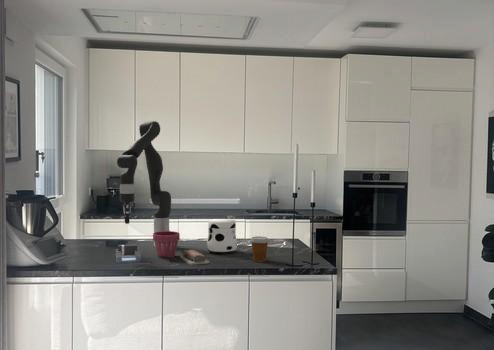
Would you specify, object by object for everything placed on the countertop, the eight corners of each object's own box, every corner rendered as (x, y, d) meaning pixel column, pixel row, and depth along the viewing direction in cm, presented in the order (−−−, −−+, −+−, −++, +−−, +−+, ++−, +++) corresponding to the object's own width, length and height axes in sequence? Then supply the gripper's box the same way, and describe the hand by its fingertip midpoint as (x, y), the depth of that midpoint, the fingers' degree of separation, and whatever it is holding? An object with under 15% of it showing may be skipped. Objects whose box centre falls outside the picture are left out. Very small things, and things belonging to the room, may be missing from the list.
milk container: (243, 252, 269) (243, 220, 268) (221, 256, 256) (221, 223, 255) (222, 248, 280) (222, 217, 280) (200, 252, 268) (200, 220, 267)
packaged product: (179, 249, 251) (197, 248, 255) (179, 259, 251) (197, 257, 256) (191, 256, 235) (209, 254, 239) (191, 266, 235) (209, 264, 240)
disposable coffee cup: (257, 263, 241) (258, 239, 240) (246, 259, 248) (247, 237, 248) (272, 261, 246) (272, 238, 246) (261, 257, 254) (261, 235, 253)
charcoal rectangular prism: (136, 253, 256) (137, 244, 256) (137, 254, 253) (137, 245, 253) (117, 254, 253) (117, 245, 253) (118, 255, 250) (118, 246, 250)
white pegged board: (138, 254, 260) (138, 247, 260) (141, 262, 239) (141, 255, 239) (115, 255, 256) (115, 248, 256) (116, 264, 235) (116, 257, 235)
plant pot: (171, 260, 245) (171, 235, 245) (147, 258, 250) (147, 234, 249) (184, 255, 258) (184, 232, 258) (161, 253, 263) (161, 230, 263)
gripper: (134, 193, 246) (134, 224, 247) (133, 191, 260) (133, 220, 261) (120, 193, 244) (119, 224, 245) (119, 191, 258) (119, 221, 259)
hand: (126, 222), depth 253 cm, fingers open, 8 cm apart
